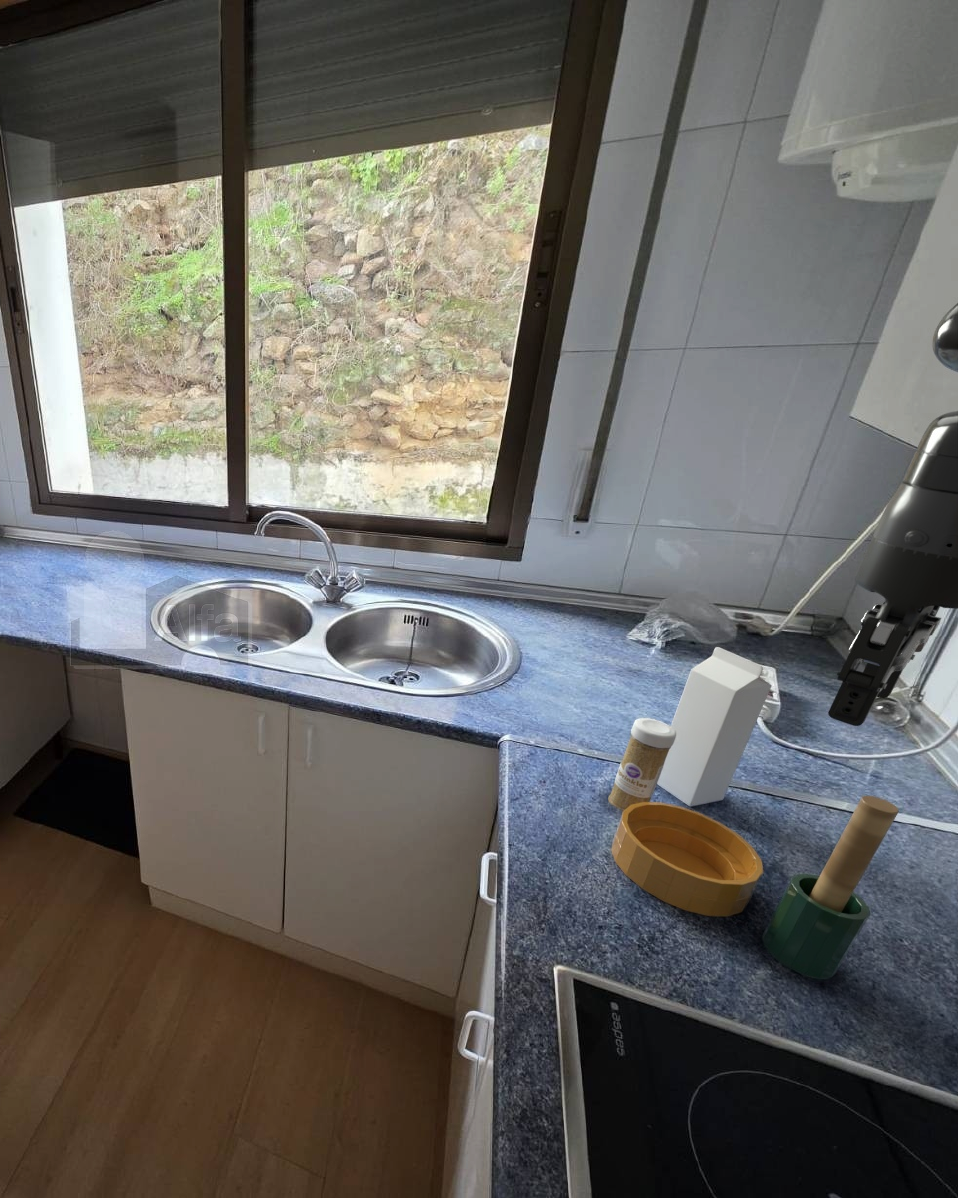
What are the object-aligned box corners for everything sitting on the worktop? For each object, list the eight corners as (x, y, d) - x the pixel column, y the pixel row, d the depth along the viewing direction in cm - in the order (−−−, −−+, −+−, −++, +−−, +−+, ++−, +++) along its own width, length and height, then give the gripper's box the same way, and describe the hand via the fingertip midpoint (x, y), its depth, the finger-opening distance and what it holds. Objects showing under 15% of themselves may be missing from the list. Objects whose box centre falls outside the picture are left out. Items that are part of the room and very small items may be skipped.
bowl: (718, 850, 81) (733, 816, 78) (768, 935, 69) (786, 898, 67) (598, 824, 85) (609, 792, 83) (627, 901, 74) (640, 865, 71)
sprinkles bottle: (603, 806, 88) (630, 725, 83) (612, 791, 91) (639, 712, 86) (642, 823, 85) (673, 740, 80) (650, 807, 88) (680, 726, 83)
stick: (806, 947, 67) (888, 798, 59) (818, 967, 65) (905, 815, 57) (777, 940, 68) (855, 792, 60) (789, 960, 66) (871, 809, 58)
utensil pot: (814, 943, 68) (849, 882, 65) (845, 990, 63) (884, 926, 60) (750, 928, 70) (780, 867, 66) (775, 972, 65) (809, 909, 62)
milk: (682, 774, 94) (733, 643, 86) (724, 801, 89) (782, 663, 81) (649, 780, 93) (697, 647, 85) (689, 807, 88) (745, 669, 79)
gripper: (993, 570, 46) (895, 753, 52) (1026, 538, 53) (936, 702, 59) (851, 544, 52) (778, 711, 58) (897, 518, 59) (828, 669, 65)
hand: (858, 706), depth 59 cm, fingers open, 8 cm apart
